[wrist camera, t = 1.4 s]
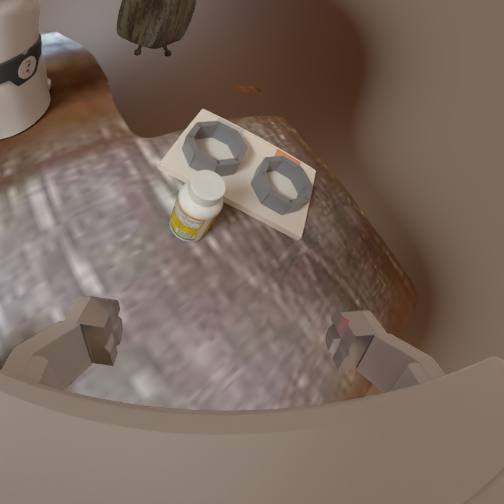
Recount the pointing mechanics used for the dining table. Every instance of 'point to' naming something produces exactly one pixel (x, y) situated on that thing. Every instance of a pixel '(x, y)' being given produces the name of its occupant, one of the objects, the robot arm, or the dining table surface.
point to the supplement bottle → (197, 205)
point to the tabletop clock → (154, 22)
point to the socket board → (245, 171)
